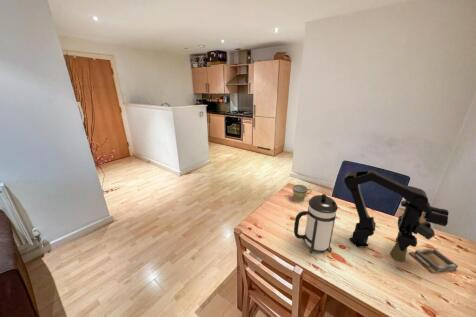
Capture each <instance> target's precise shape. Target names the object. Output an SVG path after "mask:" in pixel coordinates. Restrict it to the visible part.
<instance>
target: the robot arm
mask: <svg viewBox="0 0 476 317" xmlns="http://www.w3.org/2000/svg"><path fill="white" fill-rule="evenodd" d="M343 182H344V185H345V186H346V188H347V190H349V192H350V193H351V197H352V200H353V202H354V205H355V209H356V212H357V215H358V218H359V219H358V220H359V222H356V223H355V228H354V230H353V232H352V235H351V237H349V240H350V242H352V243H353V245H354V246H355V247H356V248H364V247H366V248H367V247H369V244H368V240H369V237H372V236H373V235H374V233H375V231H376V224H377V223H376V222H375V219H374V216H370V215H369V213H368V210H367V207H366V203H365V200H364V197H363V194H362V191H361V185H362V184H365V183H368V182H373V183H375V184H377V185H379V186H381V187H383V188H385V189H387V190H389V191H392V192H393V193H396V194H398V195H399V196H401V197H402V198H403V199H404V200H402V201H400V206H401V207H403V208H404V210H403V213H402V214H401V215H399V216H398V218H397V227H398V232H397V235H396V236H397V237H396V238H397V241H398V244H399V248H400V250H401V251H404V250H405V249H406V248H407V249H408V248H409V247H413V248H415V247H417V244H418V238H417V237H416V236H415V235H418V234H419V235H420V236H422V237H423V238H424V239H426V240H428V241H429V240H430V239H432V238H433V237H435V235H436V234H435V230H434V229H433V227H432V224H435V225H437V226H442V227H446V226H447V225H448V222H449V221H448V220H449V214H450V213H449V210H447V209H445V208H439V207H434V206H431V204H430V202H429V199H428V196H427V193H426V191H424V190H423V189H421V188H419V187H415V186H411V185H406V184H402V183H400V182H398V181H396V180H394V179H392V178H390V177H388V176H385V175H383V174H381V173H379V172H377V170H374V169H370V170H358V171H352V170H351V171H349V172H347V173H346V175H345V177H344V179H343ZM421 218H423V219H425V222H420V221H421ZM413 234H415V235H413ZM408 246H409V247H408Z"/></svg>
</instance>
